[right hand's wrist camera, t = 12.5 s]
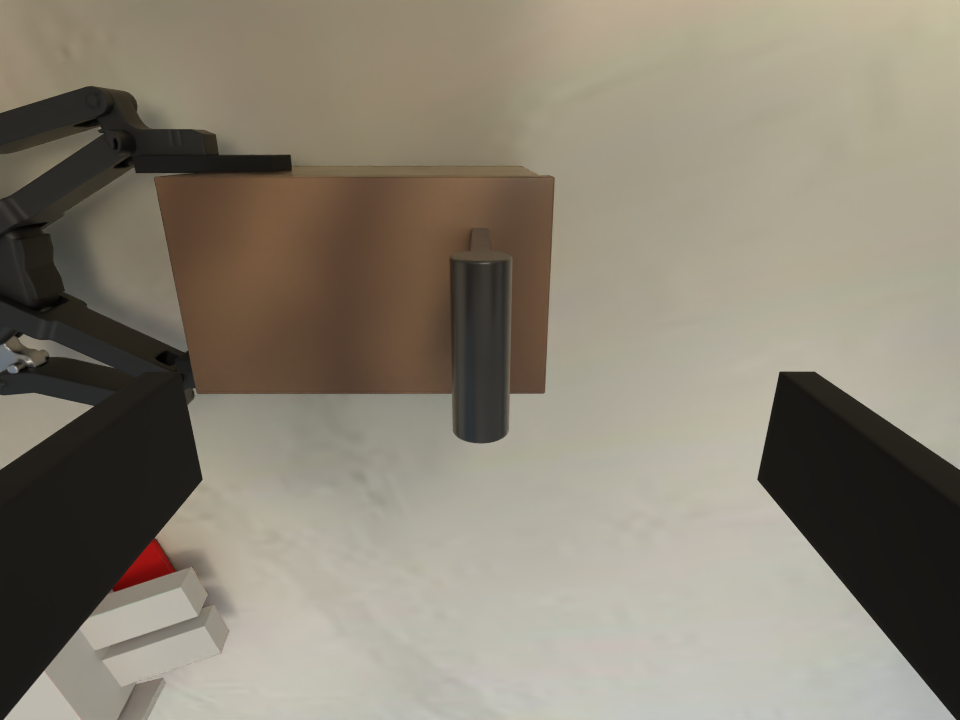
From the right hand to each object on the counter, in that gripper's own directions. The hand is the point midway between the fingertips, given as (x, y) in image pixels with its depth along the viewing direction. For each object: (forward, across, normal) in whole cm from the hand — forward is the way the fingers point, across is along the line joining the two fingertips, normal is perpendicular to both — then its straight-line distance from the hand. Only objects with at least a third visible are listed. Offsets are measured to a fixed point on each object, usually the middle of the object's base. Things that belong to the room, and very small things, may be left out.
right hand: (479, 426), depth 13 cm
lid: (+14, -5, 0) cm, 14 cm away
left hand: (+18, -10, 0) cm, 20 cm away
